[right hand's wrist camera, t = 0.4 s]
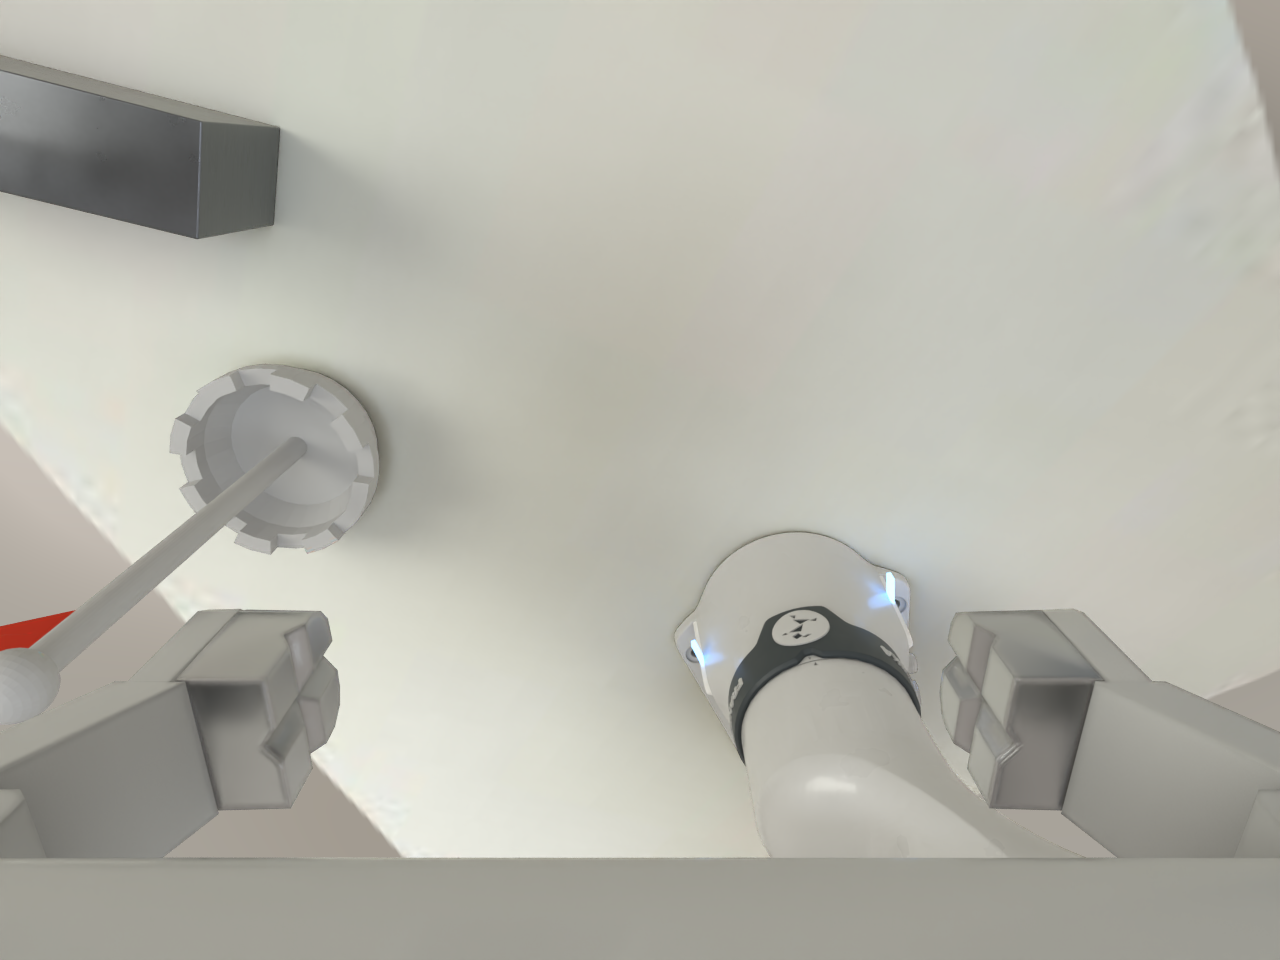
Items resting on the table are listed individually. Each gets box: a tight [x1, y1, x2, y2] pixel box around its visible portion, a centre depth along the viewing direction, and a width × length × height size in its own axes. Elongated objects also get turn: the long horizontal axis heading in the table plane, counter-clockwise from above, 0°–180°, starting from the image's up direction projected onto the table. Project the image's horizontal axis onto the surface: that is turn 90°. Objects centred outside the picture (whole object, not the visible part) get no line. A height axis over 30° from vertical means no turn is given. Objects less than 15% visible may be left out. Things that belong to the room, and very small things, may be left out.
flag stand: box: [0, 364, 379, 724], centre depth 44 cm, size 13×13×30 cm
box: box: [0, 55, 280, 239], centre depth 45 cm, size 24×6×10 cm, turn 76°
